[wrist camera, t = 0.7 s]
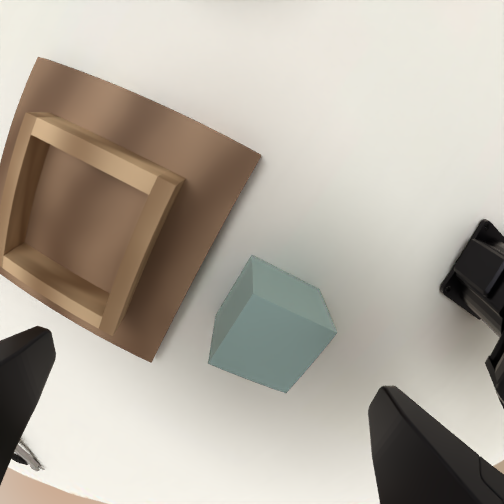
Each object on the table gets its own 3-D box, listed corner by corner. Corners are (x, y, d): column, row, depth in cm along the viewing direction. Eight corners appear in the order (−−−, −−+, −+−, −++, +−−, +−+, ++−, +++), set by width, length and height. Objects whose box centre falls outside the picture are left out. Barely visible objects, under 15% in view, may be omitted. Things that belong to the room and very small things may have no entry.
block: (319, 288, 21) (337, 332, 16) (279, 343, 22) (286, 393, 17) (251, 254, 20) (253, 293, 15) (215, 315, 21) (208, 363, 16)
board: (260, 154, 17) (263, 159, 14) (154, 354, 22) (142, 386, 19) (46, 59, 14) (15, 51, 11) (-9, 257, 19) (-34, 274, 16)
